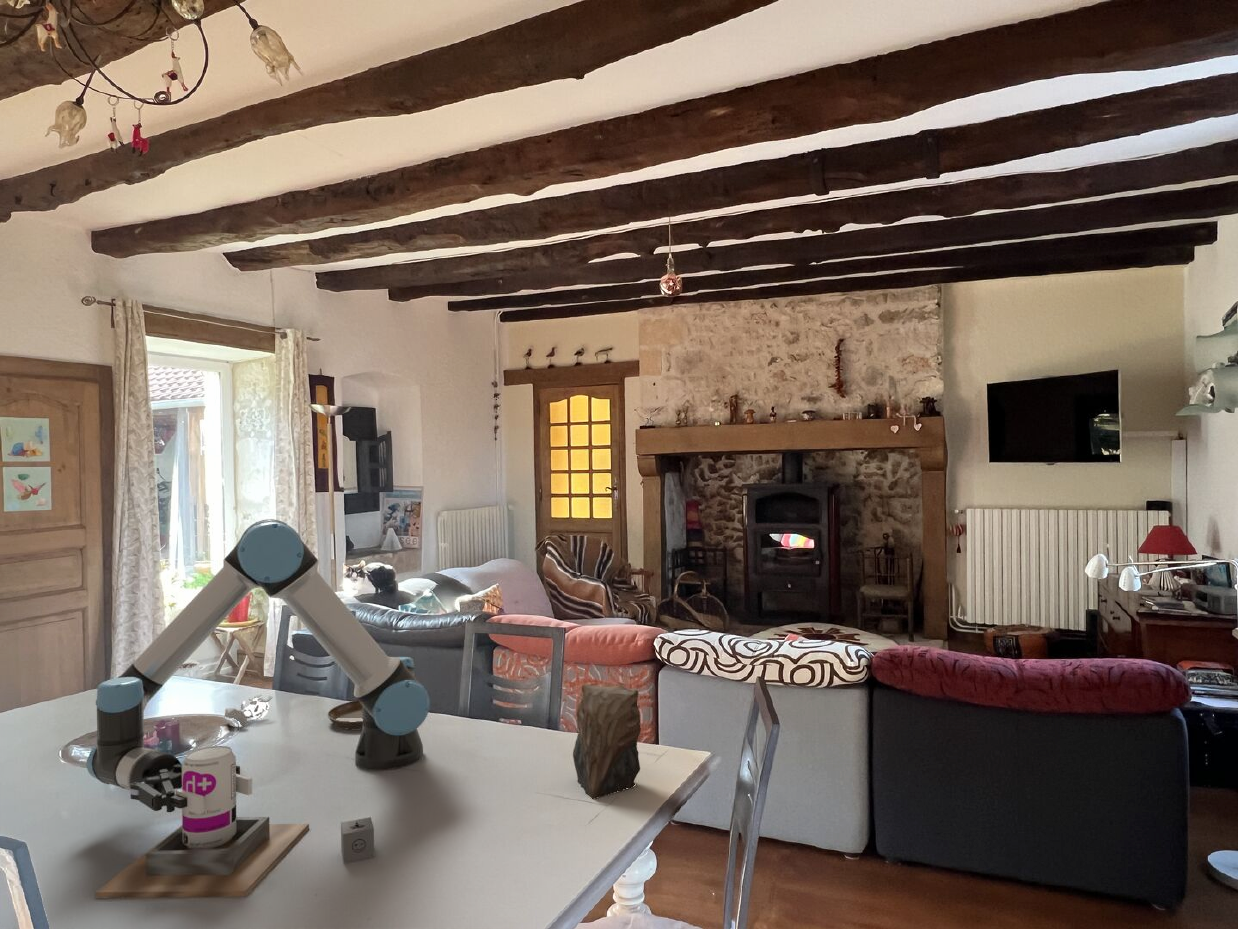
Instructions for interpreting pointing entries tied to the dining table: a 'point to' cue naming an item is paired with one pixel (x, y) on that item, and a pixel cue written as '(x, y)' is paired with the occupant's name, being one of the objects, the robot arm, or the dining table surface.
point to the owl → (607, 739)
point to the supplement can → (210, 797)
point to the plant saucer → (347, 714)
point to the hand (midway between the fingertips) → (226, 795)
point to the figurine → (249, 710)
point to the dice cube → (357, 840)
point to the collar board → (207, 864)
